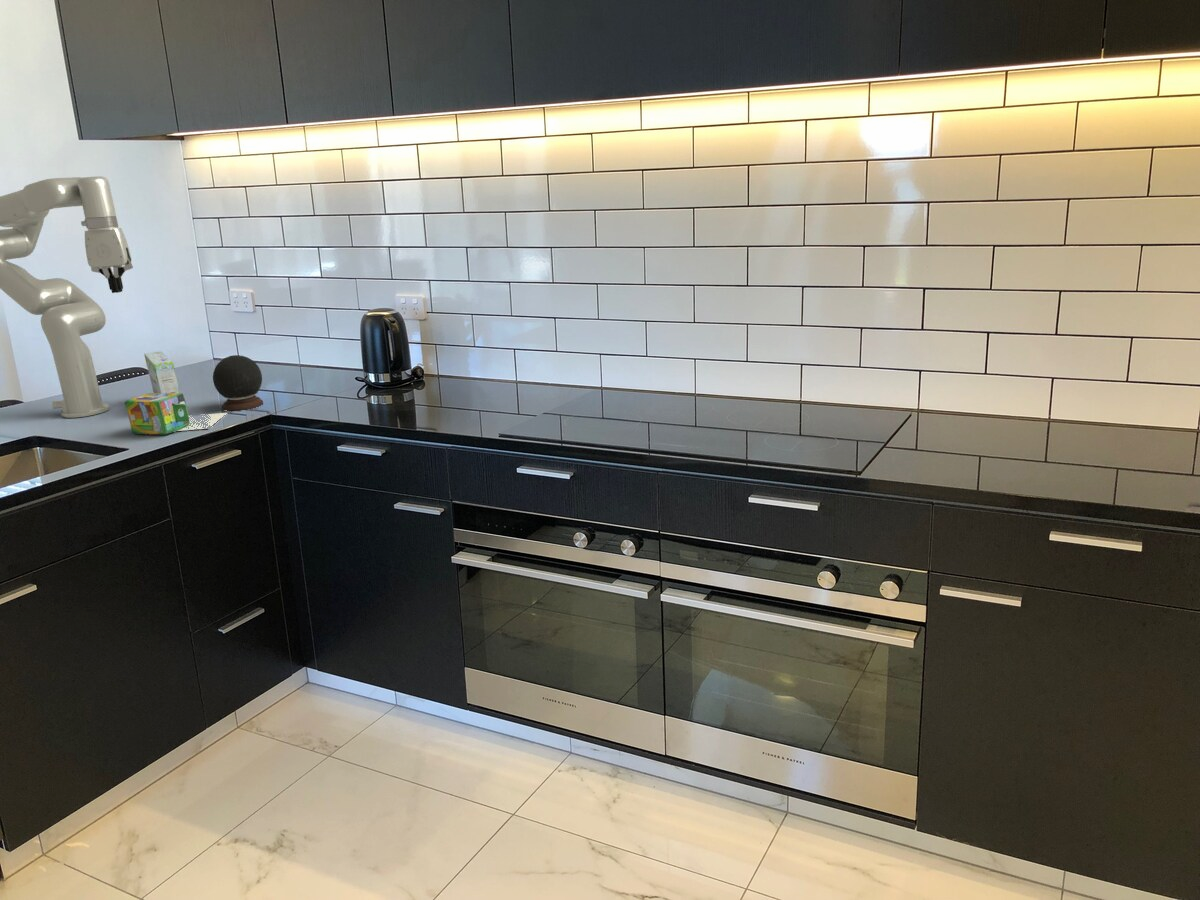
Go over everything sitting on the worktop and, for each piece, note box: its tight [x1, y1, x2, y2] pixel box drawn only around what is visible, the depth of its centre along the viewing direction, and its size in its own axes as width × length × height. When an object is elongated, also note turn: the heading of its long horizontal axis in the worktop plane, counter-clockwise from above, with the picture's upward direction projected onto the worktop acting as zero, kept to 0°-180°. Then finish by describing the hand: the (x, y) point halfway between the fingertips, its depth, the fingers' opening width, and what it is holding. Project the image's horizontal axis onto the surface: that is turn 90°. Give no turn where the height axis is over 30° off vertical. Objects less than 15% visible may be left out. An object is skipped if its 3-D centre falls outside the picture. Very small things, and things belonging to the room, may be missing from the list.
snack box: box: [143, 350, 181, 393], centre depth 271 cm, size 21×6×15 cm, turn 33°
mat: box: [176, 412, 228, 431], centre depth 251 cm, size 16×16×1 cm
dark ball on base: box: [212, 354, 264, 412], centre depth 264 cm, size 13×13×15 cm
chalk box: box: [124, 392, 190, 435], centre depth 243 cm, size 9×9×15 cm
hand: (117, 292), depth 255 cm, fingers closed
